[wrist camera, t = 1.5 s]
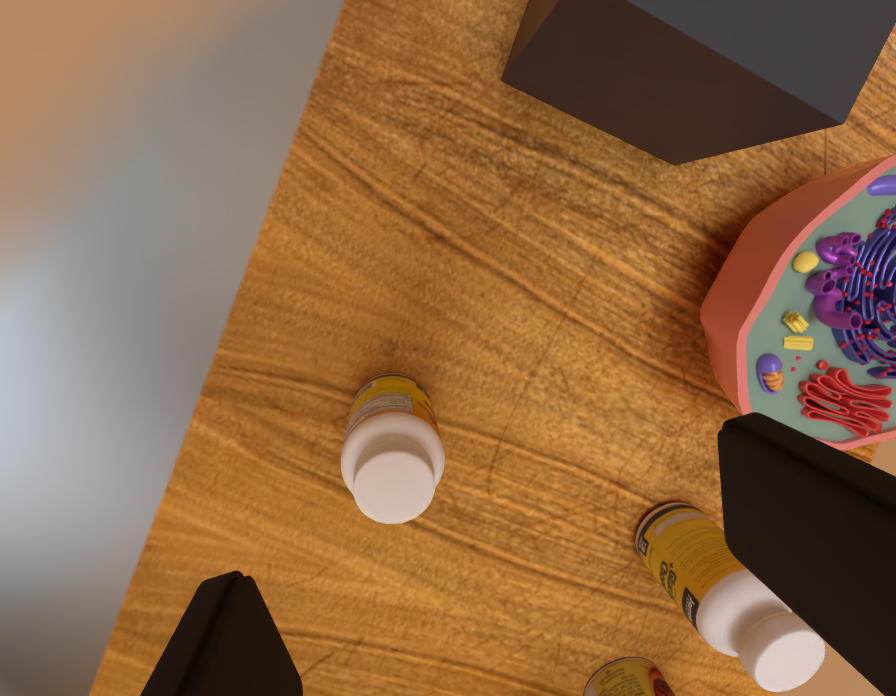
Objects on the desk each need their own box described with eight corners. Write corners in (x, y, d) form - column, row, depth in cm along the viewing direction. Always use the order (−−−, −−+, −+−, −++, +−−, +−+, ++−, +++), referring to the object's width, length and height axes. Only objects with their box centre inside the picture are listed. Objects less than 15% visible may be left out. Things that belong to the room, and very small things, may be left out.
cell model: (613, 255, 29) (746, 265, 19) (866, 116, 29) (1145, 47, 19) (686, 444, 34) (825, 540, 23) (903, 325, 34) (1141, 366, 23)
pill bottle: (629, 509, 35) (741, 635, 24) (701, 490, 36) (843, 605, 25) (634, 571, 37) (740, 716, 26) (702, 553, 38) (835, 686, 26)
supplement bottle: (429, 442, 31) (449, 537, 21) (352, 443, 30) (335, 542, 20) (432, 369, 30) (455, 435, 20) (351, 369, 29) (333, 437, 19)
